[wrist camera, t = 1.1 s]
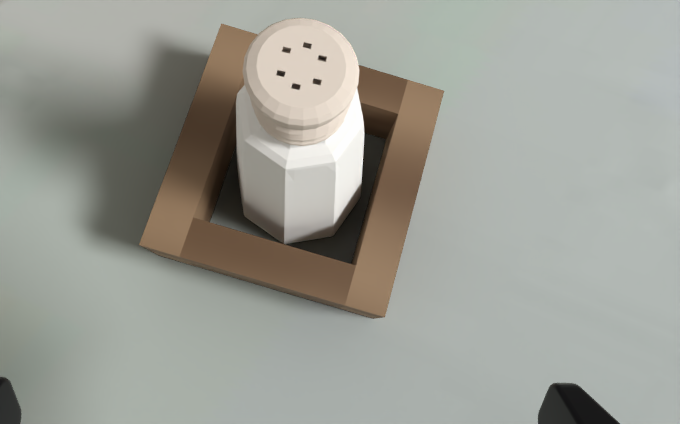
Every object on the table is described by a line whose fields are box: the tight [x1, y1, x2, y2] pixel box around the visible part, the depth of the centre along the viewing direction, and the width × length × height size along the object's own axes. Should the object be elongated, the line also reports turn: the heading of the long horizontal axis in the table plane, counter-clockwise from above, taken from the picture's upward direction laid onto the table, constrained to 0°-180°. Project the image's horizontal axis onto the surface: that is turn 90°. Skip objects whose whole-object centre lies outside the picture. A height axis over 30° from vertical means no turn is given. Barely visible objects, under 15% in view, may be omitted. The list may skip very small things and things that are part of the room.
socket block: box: [139, 24, 444, 319], centre depth 22 cm, size 9×9×3 cm
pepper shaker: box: [236, 18, 364, 244], centre depth 18 cm, size 5×5×11 cm
